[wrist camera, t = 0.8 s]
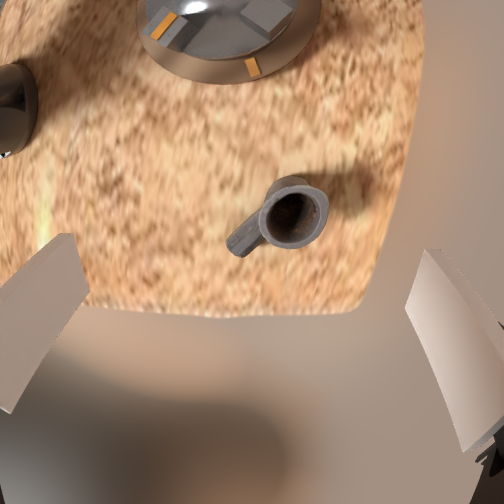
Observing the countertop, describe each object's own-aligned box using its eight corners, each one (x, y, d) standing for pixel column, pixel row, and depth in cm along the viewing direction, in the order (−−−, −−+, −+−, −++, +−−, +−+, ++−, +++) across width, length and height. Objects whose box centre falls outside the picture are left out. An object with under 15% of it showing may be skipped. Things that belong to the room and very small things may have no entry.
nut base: (112, 33, 26) (103, 30, 24) (219, -77, 17) (215, -85, 15) (237, 119, 31) (235, 120, 29) (354, 3, 23) (359, -3, 21)
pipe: (220, 224, 37) (206, 256, 30) (296, 153, 32) (302, 168, 25) (255, 256, 39) (250, 293, 32) (331, 190, 34) (345, 215, 27)
